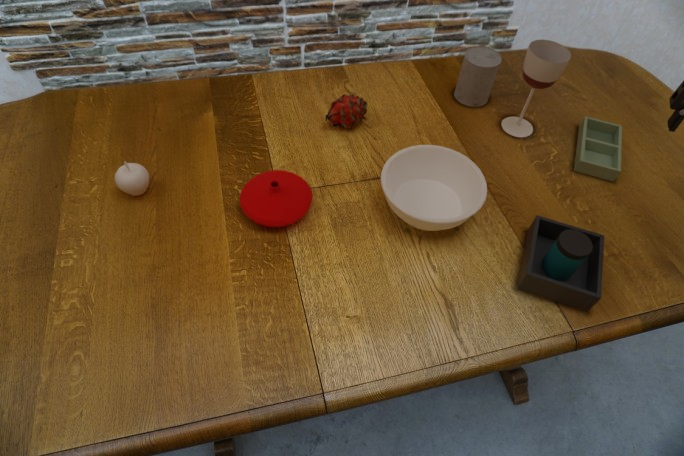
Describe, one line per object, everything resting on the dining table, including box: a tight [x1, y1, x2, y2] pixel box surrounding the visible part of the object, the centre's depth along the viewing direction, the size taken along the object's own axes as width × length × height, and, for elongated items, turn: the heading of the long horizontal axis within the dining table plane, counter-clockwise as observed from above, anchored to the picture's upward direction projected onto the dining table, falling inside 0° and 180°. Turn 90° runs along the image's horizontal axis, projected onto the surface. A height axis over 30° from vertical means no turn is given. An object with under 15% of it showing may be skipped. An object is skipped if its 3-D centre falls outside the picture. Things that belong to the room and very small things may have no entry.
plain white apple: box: [114, 161, 150, 197], centre depth 101 cm, size 7×7×8 cm
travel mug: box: [541, 229, 593, 281], centre depth 91 cm, size 6×6×9 cm
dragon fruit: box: [324, 93, 368, 130], centre depth 117 cm, size 8×8×12 cm
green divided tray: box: [573, 115, 623, 182], centre depth 115 cm, size 9×18×4 cm, turn 159°
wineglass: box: [500, 39, 572, 138], centre depth 113 cm, size 9×10×22 cm
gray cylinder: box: [453, 45, 503, 108], centre depth 124 cm, size 10×10×12 cm
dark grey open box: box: [516, 214, 605, 313], centre depth 92 cm, size 14×16×6 cm
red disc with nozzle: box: [239, 169, 313, 228], centre depth 100 cm, size 16×16×7 cm
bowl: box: [380, 144, 488, 232], centre depth 100 cm, size 22×22×8 cm
